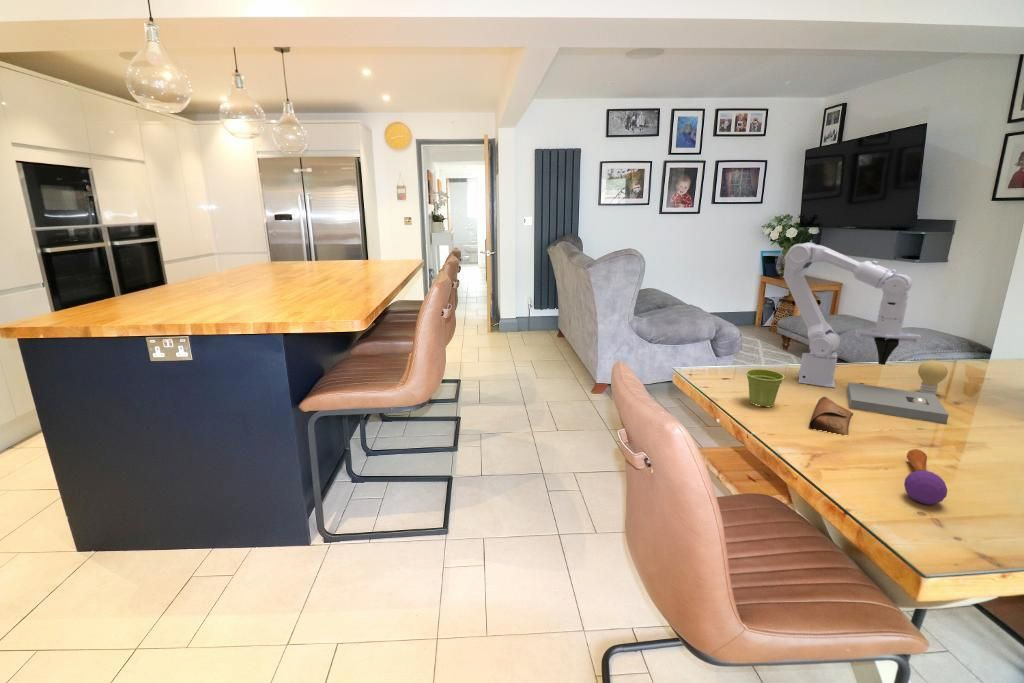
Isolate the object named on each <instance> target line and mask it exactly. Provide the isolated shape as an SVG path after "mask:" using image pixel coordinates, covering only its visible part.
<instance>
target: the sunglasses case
mask: <svg viewBox="0 0 1024 683" xmlns="http://www.w3.org/2000/svg"><path fill="white" fill-rule="evenodd" d="M813 410H814V411H813V412H812V415H811V418H810V421H809V427H810V429H811V428H812V429H811V430H813V429H816V430H815V431H818V430H822V431H821V432H823V431H827V432H826V433H828V432H831V433H830V434H833V433H836V434H835V435H838V434H841V435H840V436H844V435H848V436H849V426H850V422H851V419H852V416H853V415H854V412H852V411H851V410H849V409H847V408H845V407H843V406H841V405H839V404H837V403H836V402H834V401H833V400H832V399H830V398H828V397H827V396H822V397H821V398H819V400H818V401H817V403H816V405H815V407H814V409H813Z"/></svg>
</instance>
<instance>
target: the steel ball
mask: <svg viewBox="0 0 1024 683" xmlns="http://www.w3.org/2000/svg"><path fill="white" fill-rule="evenodd" d="M912 402H913V403H920V404H927V401H926V400H925V399H923V398H920V397H917V398H914V399H913V400H912Z"/></svg>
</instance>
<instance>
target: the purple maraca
mask: <svg viewBox="0 0 1024 683" xmlns="http://www.w3.org/2000/svg"><path fill="white" fill-rule="evenodd" d="M906 458H907V460H908V462H909V463H910V465H911V467H912V468H913V470H914V471H913V472H910V473H909V474H908V475H907V476H906V477H905V479H904V483H903V485H904V489H905V492H906V494H907V495H908V496H909V497H910V498H911V499H912V500H914V501H915V502H917V503H920V504H924V505H935V504H938V503H940V502H942V501H943V500H945V498H946V497H947V496H948V488H947V485H946V483H945V481H944V479H943V478H942V476H939V475H938V474H936V473H934V472H932V471H929V470H927V461H928V456H927V454H926V453H925V452H924V451H923V450H921V449H917V448H916V449H913V448H912V449H911V450H909V451H908V452H907V453H906Z"/></svg>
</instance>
